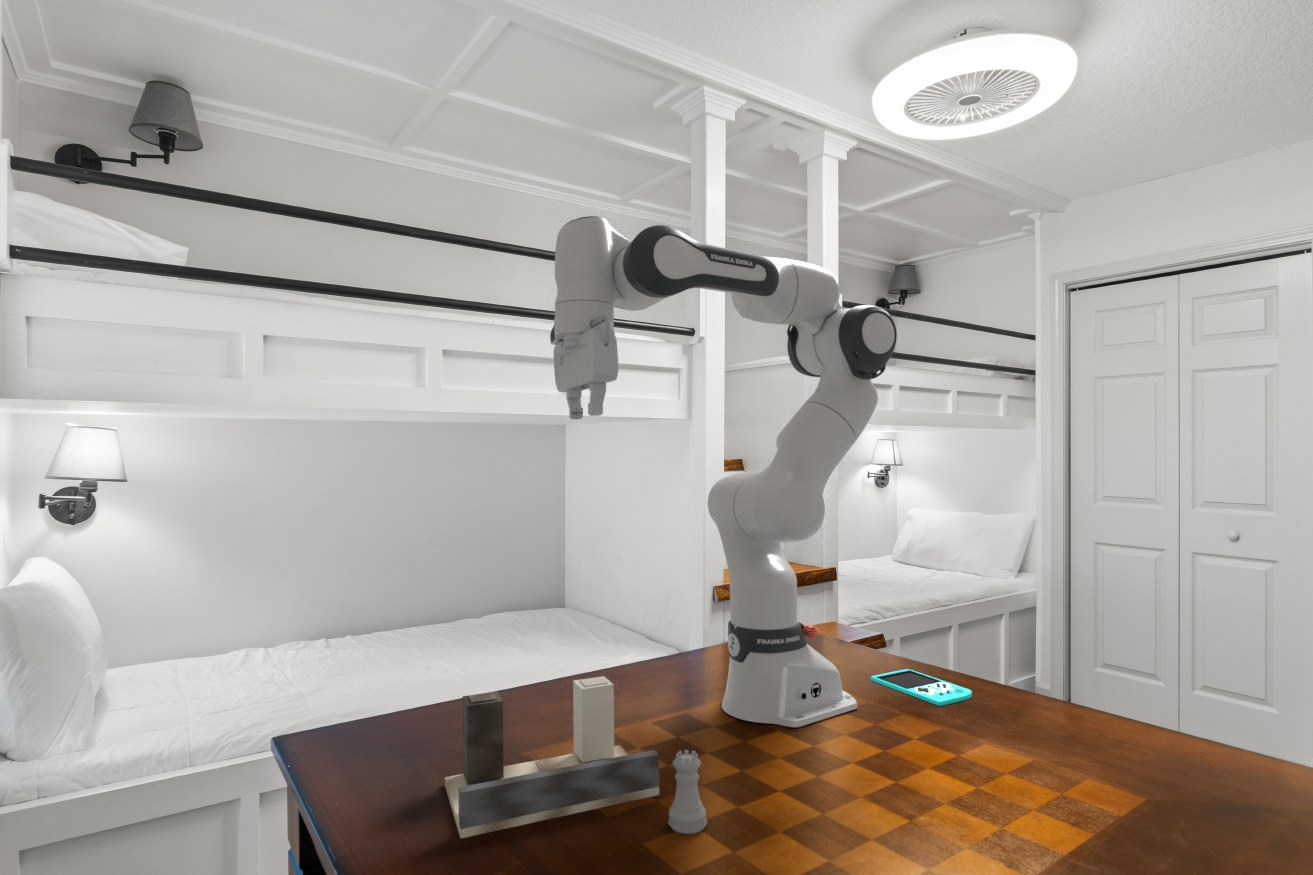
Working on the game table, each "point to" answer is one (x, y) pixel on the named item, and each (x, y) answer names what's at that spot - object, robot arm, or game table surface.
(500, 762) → the ebony key
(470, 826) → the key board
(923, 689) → the handheld game console
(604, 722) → the ivory key
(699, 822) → the rook chess piece
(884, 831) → the game table surface
